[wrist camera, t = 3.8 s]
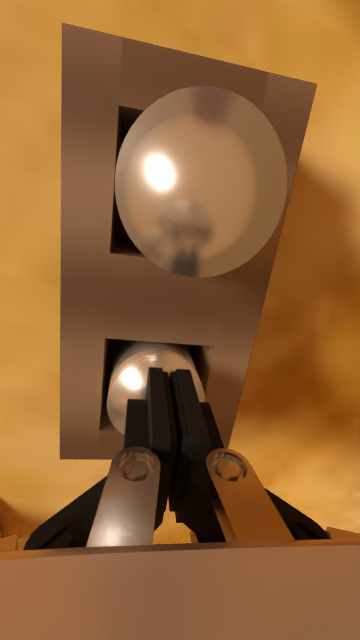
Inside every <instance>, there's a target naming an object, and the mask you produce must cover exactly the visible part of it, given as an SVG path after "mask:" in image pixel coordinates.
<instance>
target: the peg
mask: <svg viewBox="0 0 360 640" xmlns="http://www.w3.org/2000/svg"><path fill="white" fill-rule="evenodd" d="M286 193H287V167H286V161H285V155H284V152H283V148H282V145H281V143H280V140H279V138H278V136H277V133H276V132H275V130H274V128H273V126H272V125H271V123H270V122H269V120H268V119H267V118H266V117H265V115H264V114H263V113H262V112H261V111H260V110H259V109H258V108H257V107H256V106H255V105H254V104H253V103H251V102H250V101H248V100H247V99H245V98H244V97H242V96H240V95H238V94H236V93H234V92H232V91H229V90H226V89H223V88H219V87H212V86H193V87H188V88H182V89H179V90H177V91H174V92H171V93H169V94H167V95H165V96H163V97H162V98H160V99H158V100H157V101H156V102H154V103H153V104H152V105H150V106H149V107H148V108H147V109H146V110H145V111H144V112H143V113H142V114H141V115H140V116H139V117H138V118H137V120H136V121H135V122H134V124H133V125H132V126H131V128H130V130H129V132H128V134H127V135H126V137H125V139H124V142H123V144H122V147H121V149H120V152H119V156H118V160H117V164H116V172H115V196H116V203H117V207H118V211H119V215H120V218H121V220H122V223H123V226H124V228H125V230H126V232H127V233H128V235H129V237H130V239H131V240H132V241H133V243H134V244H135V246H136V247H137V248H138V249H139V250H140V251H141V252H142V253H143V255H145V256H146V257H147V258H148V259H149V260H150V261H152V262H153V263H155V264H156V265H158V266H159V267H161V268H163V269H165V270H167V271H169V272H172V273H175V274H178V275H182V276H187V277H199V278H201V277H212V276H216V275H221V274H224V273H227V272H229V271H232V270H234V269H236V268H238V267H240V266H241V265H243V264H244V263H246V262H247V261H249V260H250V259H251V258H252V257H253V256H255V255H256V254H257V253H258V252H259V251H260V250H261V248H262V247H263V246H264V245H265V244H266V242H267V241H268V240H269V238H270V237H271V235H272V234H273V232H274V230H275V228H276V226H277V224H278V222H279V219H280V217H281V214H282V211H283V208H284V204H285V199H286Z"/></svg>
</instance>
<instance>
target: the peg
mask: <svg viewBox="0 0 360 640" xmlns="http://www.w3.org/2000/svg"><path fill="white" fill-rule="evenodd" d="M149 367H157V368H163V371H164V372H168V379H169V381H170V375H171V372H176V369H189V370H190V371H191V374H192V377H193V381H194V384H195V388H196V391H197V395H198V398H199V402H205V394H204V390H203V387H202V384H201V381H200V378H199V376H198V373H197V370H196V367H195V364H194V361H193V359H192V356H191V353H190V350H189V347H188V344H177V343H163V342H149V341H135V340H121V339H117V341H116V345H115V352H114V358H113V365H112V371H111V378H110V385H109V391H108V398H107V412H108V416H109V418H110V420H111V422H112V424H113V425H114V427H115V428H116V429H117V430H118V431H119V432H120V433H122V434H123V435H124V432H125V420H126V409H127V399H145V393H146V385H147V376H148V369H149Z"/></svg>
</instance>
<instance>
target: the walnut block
mask: <svg viewBox="0 0 360 640" xmlns="http://www.w3.org/2000/svg"><path fill="white" fill-rule="evenodd" d="M193 86H212V87H219V88H223V89H226V90H229V91H232V92H234V93H236V94H238V95H240V96H242V97H244V98H245V99H247V100H248V101H250V102H251V103H253V104H254V105H255V106H256V107H257V108H258V109H259V110H260V111H261V112H262V113H263V114H264V115H265V117H266V118H267V119H268V120H269V122H270V123H271V125H272V126H273V128H274V130H275V132H276V133H277V136H278V138H279V140H280V143H281V145H282V148H283V152H284V155H285V161H286V167H287V193H286V199H285V204H284V208H283V211H282V214H281V217H280V219H279V222H278V224H277V226H276V228H275V230H274V232H273V234H272V235H271V237H270V238H269V240H268V241H267V242H266V244H265V245H264V246H263V247H262V248H261V250H260V251H259V252H258V253H257V254H256V255H255V256H253V257H252V258H251V259H250V260H249V261H247V262H246V263H244V264H243V265H241V266H240V267H238V268H236V269H234V270H232V271H229V272H227V273H224V274H221V275H216V276H212V277H201V278H199V277H187V276H182V275H178V274H175V273H172V272H169V271H167V270H165V269H163V268H161V267H159V266H158V265H156V264H155V263H153V262H152V261H150V260H149V259H148V258H147V257H146V256H145V255H143V253H142V252H141V251H140V250H139V249H138V248H137V247H136V246H135V244H134V243H133V241H132V240H131V239H130V237H129V235H128V233H127V232H126V230H125V228H124V226H123V223H122V220H121V218H120V215H119V211H118V207H117V203H116V196H115V172H116V164H117V160H118V156H119V152H120V149H121V147H122V144H123V142H124V139H125V137H126V135H127V134H128V132H129V130H130V128H131V126H132V125H133V124H134V122H135V121H136V120H137V118H138V117H139V116H140V115H141V114H142V113H143V112H144V111H145V110H146V109H147V108H148V107H149V106H150V105H152V104H153V103H154V102H156V101H157V100H158V99H160V98H162V97H163V96H165V95H167V94H169V93H171V92H174V91H177V90H179V89H182V88H188V87H193ZM316 87H317V84H315V83H311V82H307V81H303V80H299V79H294V78H290V77H286V76H282V75H278V74H274V73H269V72H265V71H261V70H257V69H253V68H249V67H245V66H240V65H236V64H232V63H228V62H224V61H220V60H215V59H211V58H207V57H203V56H199V55H195V54H190V53H186V52H182V51H178V50H174V49H170V48H165V47H161V46H157V45H153V44H149V43H145V42H140V41H136V40H132V39H128V38H124V37H120V36H115V35H111V34H107V33H103V32H99V31H95V30H90V29H86V28H82V27H78V26H74V25H70V24H65V23H62V116H61V316H60V459H101V460H113V458H114V456H115V455H116V454H117V453H118V452H119V451H121V450H123V445H124V435H123V434H122V433H120V432H119V431H118V430H117V429H116V428H115V427H114V425H113V424H112V422H111V420H110V418H109V416H108V412H107V398H108V391H109V385H110V378H111V371H112V365H113V358H114V352H115V345H116V341H117V339H121V340H135V341H149V342H163V343H177V344H188V347H189V350H190V353H191V356H192V359H193V361H194V364H195V367H196V370H197V373H198V376H199V378H200V381H201V384H202V387H203V390H204V394H205V402H208V403H209V404H210V406H211V409H212V412H213V415H214V418H215V421H216V424H217V427H218V430H219V433H220V436H221V439H222V442H223V445H224V448H227V449H228V446H229V442H230V438H231V433H232V429H233V425H234V421H235V417H236V413H237V409H238V405H239V401H240V397H241V393H242V389H243V385H244V380H245V376H246V372H247V368H248V364H249V360H250V356H251V352H252V348H253V344H254V340H255V336H256V332H257V327H258V323H259V319H260V315H261V311H262V307H263V303H264V299H265V295H266V291H267V287H268V283H269V279H270V274H271V270H272V266H273V262H274V258H275V254H276V250H277V246H278V242H279V238H280V234H281V230H282V226H283V221H284V217H285V213H286V209H287V205H288V201H289V197H290V193H291V189H292V185H293V181H294V177H295V173H296V168H297V164H298V160H299V156H300V152H301V148H302V144H303V140H304V136H305V132H306V128H307V124H308V120H309V115H310V111H311V107H312V103H313V99H314V95H315V91H316Z"/></svg>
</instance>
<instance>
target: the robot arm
mask: <svg viewBox="0 0 360 640" xmlns="http://www.w3.org/2000/svg"><path fill="white" fill-rule="evenodd" d="M168 499H169V509H170V511H175V515H176V523H184V524H185V525H186V526H187V527H188V528H189V529H191V531H190V537H191V543H186V544H157V545H152V542H153V533H154V531H155V530H156V529H157V528H158V527H159V526H160V525H161V523H162V521H163V515H164V512H165V510H166V505H167V500H168ZM0 640H360V534H359V533H354V532H350V531H345V530H341V529H336V528H331V527H327V529H326V531H325V530H323V529H322V528H321V526H319V525H318V524H317V523H316V522H315V521H313V520H312V519H310V518H309V517H307V516H306V515H304V514H303V513H301V512H300V511H298V510H297V509H295V508H294V507H292V506H291V505H289V504H288V503H286V502H285V501H283V500H282V499H280V498H279V497H277V496H276V495H274V494H273V493H271V492H270V491H268V490H267V489H265V488H264V487H263V485H262V483H261V482H260V480H259V478H258V477H257V475H256V473H255V471H254V470H253V468H252V466H251V465H250V463H249V462H248V460H247V459H246V458H245V457H244V456H242V455H241V454H240V453H238V452H236V451H234V450H231V449H227V448H224V445H223V442H222V439H221V436H220V433H219V430H218V427H217V424H216V421H215V418H214V415H213V412H212V409H211V406H210V404H209V403H208V402H199V398H198V395H197V391H196V388H195V384H194V381H193V377H192V374H191V371H190V370H189V369H176V372H171V375H170V381H169V379H168V372H164V371H163V368H157V367H149V369H148V376H147V385H146V393H145V399H127V409H126V420H125V432H124V445H123V450H121V451H119V452H118V453H117V454H116V455H115V456H114V458H113V460H112V463H111V466H110V469H109V473H108V476H106V477H105V478H103V479H102V480H101V481H99V482H98V483H97V484H95V485H94V486H93V487H91V488H90V489H89V490H87V491H86V492H85V493H83V494H82V495H81V496H79V497H78V498H77V499H75V500H74V501H73V502H71V503H70V504H69V505H67V506H66V507H64V508H63V509H62V510H60V511H59V512H58V513H56V514H55V515H54V516H52V517H51V518H50V519H48V520H47V521H46V522H44V523H43V524H42V525H40V526H39V527H38V528H37V529H36V530H35V531H34V532H33V533H32V534H31V535H30V536H27V537H23V538H19V539H17V534H16V535H12V536H8V537H4V538H1V531H0Z"/></svg>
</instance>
